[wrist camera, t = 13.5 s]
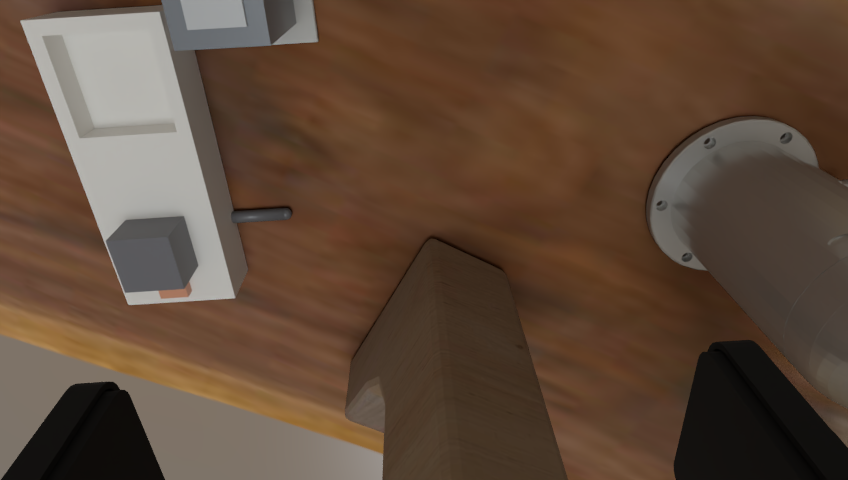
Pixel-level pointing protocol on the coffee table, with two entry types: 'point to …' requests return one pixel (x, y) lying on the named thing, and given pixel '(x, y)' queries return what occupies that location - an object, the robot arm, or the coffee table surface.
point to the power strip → (144, 151)
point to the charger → (227, 22)
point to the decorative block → (453, 378)
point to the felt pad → (301, 25)
